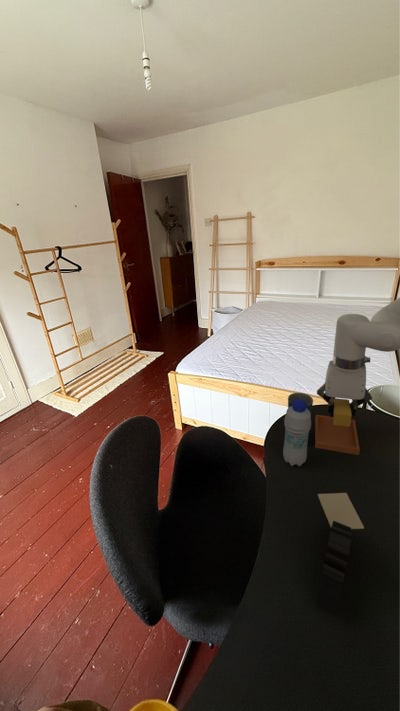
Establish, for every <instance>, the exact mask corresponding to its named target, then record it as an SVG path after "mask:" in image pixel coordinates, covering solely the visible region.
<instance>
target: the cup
mask: <svg viewBox="0 0 400 711" xmlns="http://www.w3.org/2000/svg"><path fill="white" fill-rule="evenodd" d="M295 400H303V401H305V403H306V408H307V409H308V410H309V411H310V413H311V414H312V409H313V404H314V399H313V397H312V396H311V395H309V394H308V393H303V392H293V393H290V394H289V395H288V396H287V409H288V408H289V407H291V406H292V405H293V402H294V401H295Z"/></svg>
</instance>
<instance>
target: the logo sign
mask: <svg viewBox="0 0 400 711" xmlns="http://www.w3.org/2000/svg"><path fill="white" fill-rule="evenodd" d="M352 539H353V533H352V529H351V527H348V526H346V525H343V524H341V523H338V522H336V521H334V520H333V524H332V526H331V527H330V530H329V536H328V540H327V545H326V550H325V555H324V561H323V565H322V566H323V567H322V572H321V576H320V581H319V585H318V590H317V594H316V600H315V605H314V607H315V608H316V609H319V610H321V611H322V612H324V613H326V614H327V615H330V616H331V617H334V618H335V619H338V615H339V609H340V604H341V599H342V593H343V587H344V579H345V574H346V570H347V566H348V560H349V556H350V552H351V545H352V541H353V540H352Z"/></svg>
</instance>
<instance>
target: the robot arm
mask: <svg viewBox="0 0 400 711" xmlns="http://www.w3.org/2000/svg"><path fill="white" fill-rule="evenodd" d="M367 349H371V350H373V351H374V350H375V351H379V352H385V353H390V352H395V351H397V350H400V297H398V298H396V299H395V300H393V301H391V302H390V303H388V304H386V306H384V307H382V308H381V309H379V310H378V311H376V312H375V313H374V315H372V317H371V319H369V317H367V316H365V315H363V314H358V313H345V314H343V315H341V316H339V317H338V318H337V320H336V324H335V334H334V346H333V353H332V354H333V355H332V360H330V361H329V362H328V365H327V369H326V373H325V379H324V383H323V384H322V385H321V386H320V387H319V388H318V389H317V390H316V395H318V397H320V398H321V399H323V400H324V401H325V402H326V403H327V405H328V406H327V413H328V414H329V416H330V417H333V412H334V400H335V398H338V399H347V400H351V402H350V409H351V415H352V417H351V420H353V419H354V418H353V417H355V416H356V412H357V409H358V408H359V406H361V405H363V404H365V403H367V402H370V401H372V400H373V396H372V394H371V393H370V391H369V390H368V388H366V387H367V367H366V366H367V365H366V364H367V363H371V357H370V356H369V357H368V356H366V351H367Z"/></svg>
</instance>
